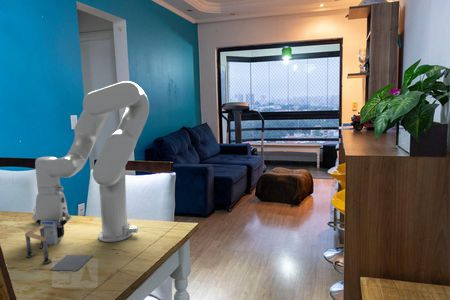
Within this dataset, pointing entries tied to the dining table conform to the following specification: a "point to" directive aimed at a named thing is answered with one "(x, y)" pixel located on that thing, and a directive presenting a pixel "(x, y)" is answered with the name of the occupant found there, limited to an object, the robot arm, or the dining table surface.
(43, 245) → the wooden l-shaped stand
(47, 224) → the medicine box
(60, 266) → the mat
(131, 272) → the dining table surface
